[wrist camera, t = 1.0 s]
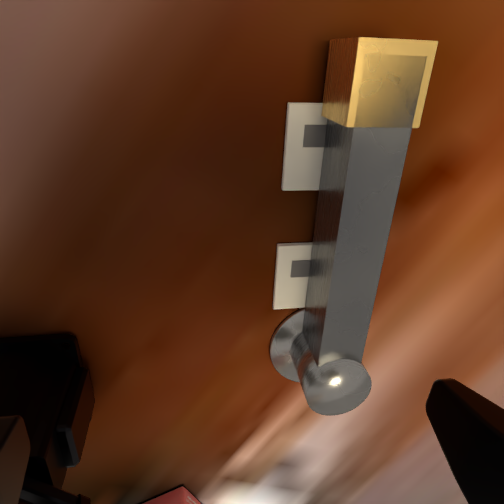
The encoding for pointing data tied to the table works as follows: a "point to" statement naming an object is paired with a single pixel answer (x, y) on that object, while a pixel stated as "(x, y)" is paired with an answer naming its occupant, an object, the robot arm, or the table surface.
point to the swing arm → (356, 207)
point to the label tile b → (303, 146)
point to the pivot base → (286, 344)
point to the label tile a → (291, 275)
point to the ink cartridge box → (175, 497)
